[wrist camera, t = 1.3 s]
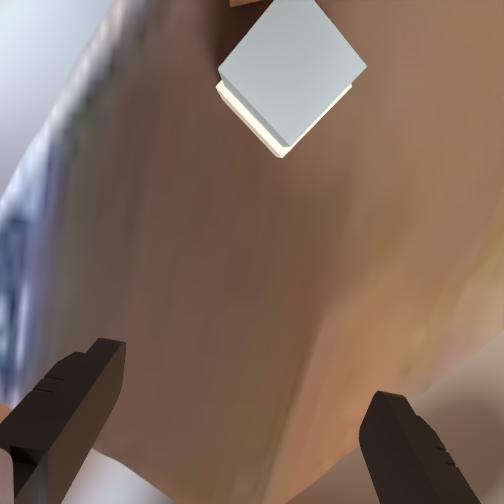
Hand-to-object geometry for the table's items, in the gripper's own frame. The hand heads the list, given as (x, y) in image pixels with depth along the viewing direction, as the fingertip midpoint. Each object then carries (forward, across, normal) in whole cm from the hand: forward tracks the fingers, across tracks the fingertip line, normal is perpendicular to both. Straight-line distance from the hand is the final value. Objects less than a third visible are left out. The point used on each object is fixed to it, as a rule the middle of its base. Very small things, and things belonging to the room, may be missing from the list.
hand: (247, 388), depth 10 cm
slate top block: (+17, 0, -12) cm, 21 cm away
